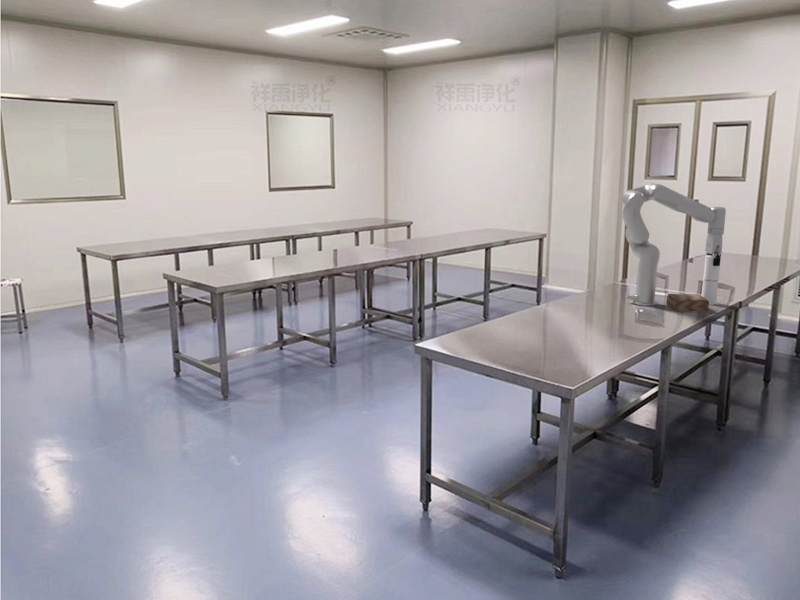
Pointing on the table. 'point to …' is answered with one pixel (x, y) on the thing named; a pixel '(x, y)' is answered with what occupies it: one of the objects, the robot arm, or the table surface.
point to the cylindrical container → (710, 280)
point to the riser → (687, 302)
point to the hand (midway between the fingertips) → (712, 264)
